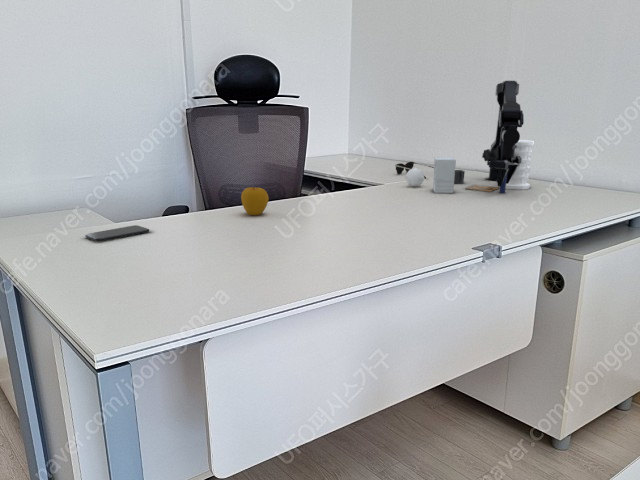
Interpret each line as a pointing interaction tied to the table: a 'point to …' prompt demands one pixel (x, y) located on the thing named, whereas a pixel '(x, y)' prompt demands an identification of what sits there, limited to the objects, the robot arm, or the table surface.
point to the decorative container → (522, 166)
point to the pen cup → (459, 177)
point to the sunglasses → (406, 167)
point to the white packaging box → (444, 174)
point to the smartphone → (117, 233)
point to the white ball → (415, 177)
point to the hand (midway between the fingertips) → (503, 184)
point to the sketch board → (482, 188)
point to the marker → (503, 185)
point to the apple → (254, 200)
